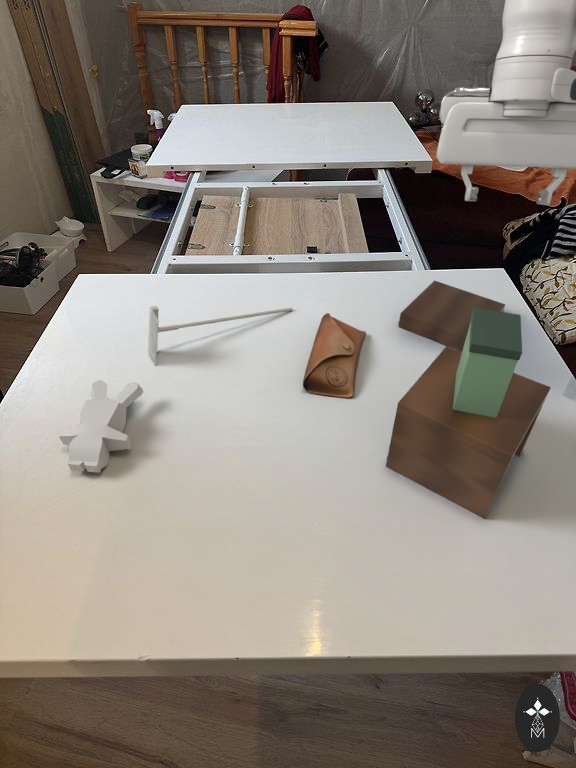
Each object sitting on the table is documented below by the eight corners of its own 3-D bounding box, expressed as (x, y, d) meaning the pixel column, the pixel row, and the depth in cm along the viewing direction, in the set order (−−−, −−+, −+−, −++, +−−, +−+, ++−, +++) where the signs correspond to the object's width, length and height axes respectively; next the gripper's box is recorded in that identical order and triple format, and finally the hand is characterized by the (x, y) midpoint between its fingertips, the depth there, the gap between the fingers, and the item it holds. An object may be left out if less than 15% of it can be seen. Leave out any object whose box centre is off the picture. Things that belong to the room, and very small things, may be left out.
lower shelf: (501, 317, 99) (505, 304, 97) (471, 355, 90) (475, 341, 88) (431, 293, 105) (434, 280, 103) (397, 326, 96) (400, 313, 94)
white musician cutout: (42, 455, 68) (82, 370, 78) (55, 476, 72) (92, 393, 82) (114, 460, 68) (145, 374, 78) (123, 481, 71) (152, 396, 81)
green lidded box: (455, 372, 68) (473, 307, 62) (497, 380, 67) (520, 314, 61) (451, 410, 63) (471, 343, 57) (497, 419, 62) (522, 352, 55)
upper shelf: (522, 450, 74) (551, 387, 66) (485, 519, 66) (512, 455, 58) (430, 408, 81) (446, 345, 73) (385, 466, 72) (397, 402, 64)
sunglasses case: (356, 397, 82) (337, 366, 78) (317, 409, 85) (296, 379, 81) (367, 330, 95) (351, 300, 91) (332, 342, 98) (315, 314, 95)
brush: (294, 339, 101) (306, 299, 95) (154, 366, 88) (157, 321, 82) (285, 327, 104) (295, 287, 97) (147, 351, 90) (148, 306, 84)
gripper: (444, 84, 66) (428, 201, 72) (623, 85, 62) (592, 209, 68) (441, 88, 72) (428, 196, 78) (606, 90, 68) (578, 203, 74)
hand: (506, 202), depth 73 cm, fingers open, 8 cm apart
